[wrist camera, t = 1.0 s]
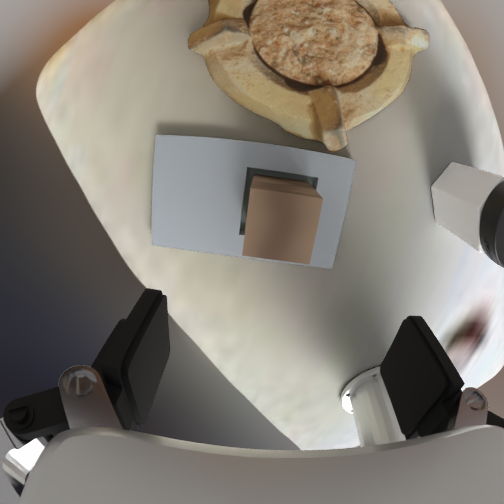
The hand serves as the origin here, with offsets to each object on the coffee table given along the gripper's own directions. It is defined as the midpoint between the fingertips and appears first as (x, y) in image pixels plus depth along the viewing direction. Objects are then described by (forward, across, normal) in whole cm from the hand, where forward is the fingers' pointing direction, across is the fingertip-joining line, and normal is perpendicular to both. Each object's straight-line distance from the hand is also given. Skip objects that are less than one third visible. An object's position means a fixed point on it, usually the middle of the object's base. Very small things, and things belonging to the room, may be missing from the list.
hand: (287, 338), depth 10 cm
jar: (+21, -23, -5) cm, 31 cm away
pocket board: (+21, +2, 0) cm, 21 cm away
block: (+21, -1, 0) cm, 21 cm away
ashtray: (+22, -2, -19) cm, 29 cm away
